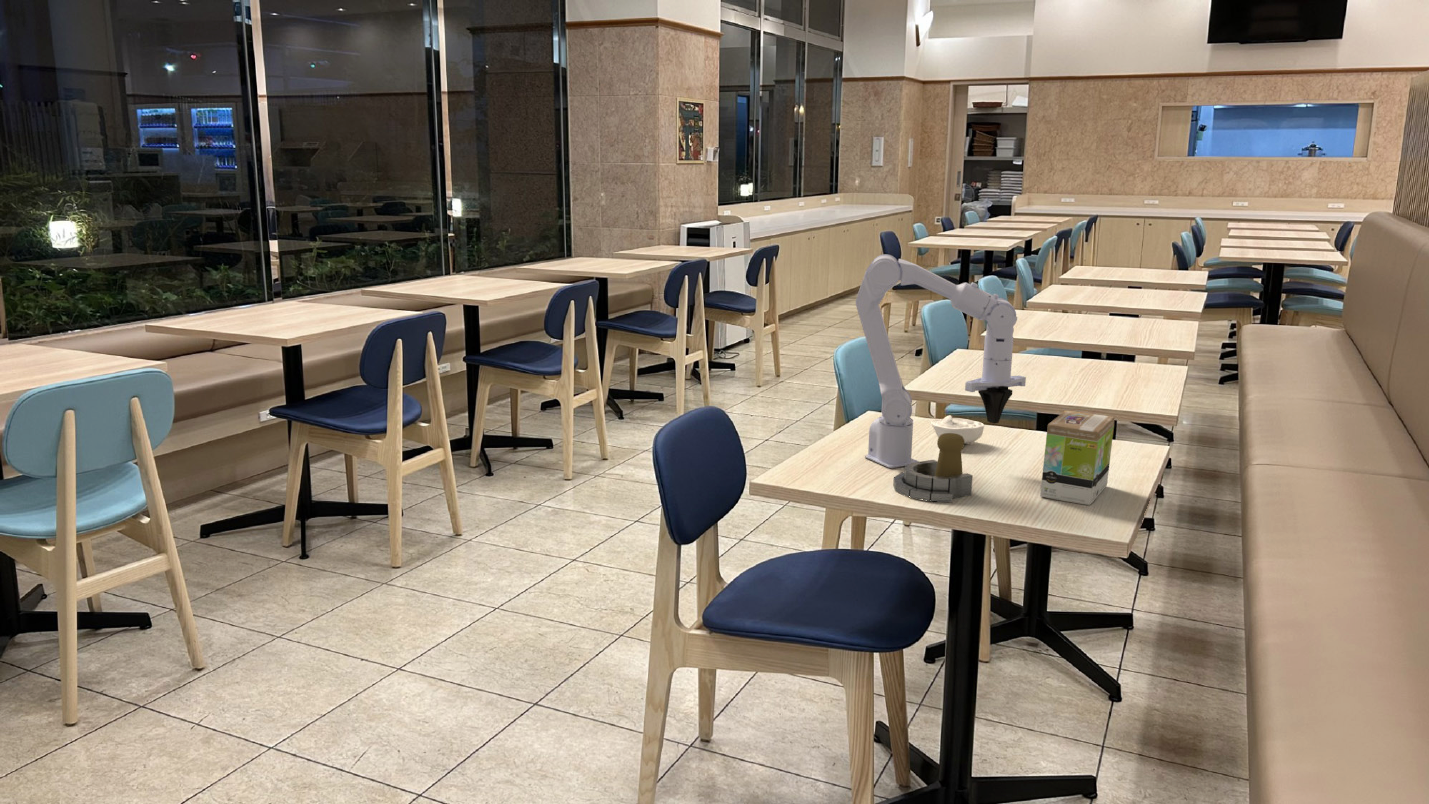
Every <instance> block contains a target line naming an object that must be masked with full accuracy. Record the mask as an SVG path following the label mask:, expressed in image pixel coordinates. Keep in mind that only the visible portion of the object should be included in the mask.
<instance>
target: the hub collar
mask: <svg viewBox="0 0 1429 804" xmlns="http://www.w3.org/2000/svg"><path fill="white" fill-rule="evenodd" d="M937 462H938V460H935V459H928V460H923V461H919V462H914V463H910V464H908V465H907V466H904V469H903V470H904V472H903V471H902V472H900V473H898V474H897V475H894V476H893V481H892V482H893V483H892V484H893V488H894V491H895V493H898V494H900V495H902V494H903V495H902V496H904V495H905V496H904V497H906V496H908V497H909V496H910V497H911V498H910V497H909V498H910V499H912V498H917V499H916V500H918V499H923V500H927V501H926V502H928V501H930V500H931V501H937V502H936V503H953V499H957V498H958V499H959V498H962V497H969V496H972V490H973V474H970V473H967V472H966V473H963V474H960V475H954V476H948V477H936V476H935V472H936V467H937ZM908 497H907V498H908ZM923 500H922V501H923ZM931 501H930V502H931Z"/></svg>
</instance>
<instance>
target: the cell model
mask: <svg viewBox="0 0 1429 804" xmlns="http://www.w3.org/2000/svg"><path fill="white" fill-rule="evenodd" d="M930 424H931V426H932V427H933V430H934V432H935V434H936V436H937V437H938V438H939V436H940V435H942V434H944V433H955V434H959V435H961V436H962V437H963V438H964V442H965V443H964V445H967V444H973V443H974V442H976V441H977V440H979V439H980V438H981V437H982V435H983V434H984V433H983V432H984V429H985V424H984V423H982V422H980V421H978V420H977V421H976V420H972V419H967V418H960V417H952V415H947V416H945V417H944V418H941V419H940V418H939V419H935V420H932V421H931V422H930ZM938 438H937V439H938Z"/></svg>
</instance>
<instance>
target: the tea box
mask: <svg viewBox="0 0 1429 804" xmlns="http://www.w3.org/2000/svg"><path fill="white" fill-rule="evenodd" d="M1046 429H1047V431H1046V437H1045V438H1046V440H1045V447H1044V455H1043V456H1044V457H1043V465H1042V476H1041V483H1040V484H1041V485H1040V493H1039V496H1040V497H1042V498H1047V499H1049V500H1050V499H1051V500H1056V501H1057V500H1058V501H1062V502H1063V501H1064V502H1068V503H1074V504H1080V505H1086V506H1091V505H1092V503H1093V502H1095V500H1096V499H1097V498H1098V497H1099V495H1100V494H1101V493H1103V490H1104V489H1106V487H1107V485H1108V481H1109V480H1108V479H1109V473H1110V472H1109V470H1110V463H1111V453H1112V447H1113V437H1114V429H1115V417H1114V416H1110V415H1104V414H1096V413H1095V414H1094V413H1089V412H1081V411H1080V412H1079V411H1074V410H1072V411H1071V410H1064V411H1063V412H1062V413H1060V414H1059V415H1058V416H1057V417H1055V418H1054V419H1053V420H1052V421H1051V422H1049V423H1048V424H1047V428H1046Z"/></svg>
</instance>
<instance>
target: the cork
mask: <svg viewBox="0 0 1429 804" xmlns="http://www.w3.org/2000/svg"><path fill="white" fill-rule="evenodd" d="M964 443H965V442H964V438H963V437H962V436H961V435H959V434H955V433H944V434H942V435H940V436H939V438H937V448H938V449H939V453H938V458H937V461H938V462H937V467H936V472H935V476H936V477H948V476H954V475H960V474H964V473H963V462H962V461H963V460H962V459H963V458H962V451H963V450H964V447H965V444H964Z"/></svg>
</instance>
